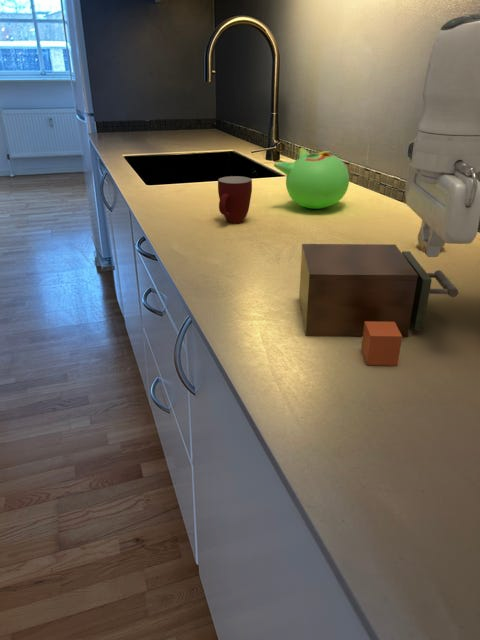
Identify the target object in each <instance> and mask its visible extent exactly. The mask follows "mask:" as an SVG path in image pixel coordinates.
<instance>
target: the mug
mask: <svg viewBox="0 0 480 640" xmlns="http://www.w3.org/2000/svg"><path fill="white" fill-rule="evenodd" d="M217 192H218V199H219V201H218V210H219V213H220V214H221V215H223V216H224V218H225V220H226V222H227V223H230V224H241V223H243V222H244V221H245V219H246V217H247V215H248V214H249V209H250V203H251V199H252V192H253V179H252V178H250V177H247V176H241V175H240V176H239V175H237V176H236V175H234V176H233V175H230V176H223V177H220V178H218V179H217Z"/></svg>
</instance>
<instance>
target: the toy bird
mask: <svg viewBox="0 0 480 640" xmlns="http://www.w3.org/2000/svg"><path fill="white" fill-rule="evenodd" d="M330 153H331V150H326V151H325V150H324V151H318V152H317V151H316V152H315V151H314V152H312V153H310V152H309V151H308V150H307V149H305V148H304V147H300V148H299V150H298V156H299V157H298V158H297V159H296V160H295V161H294V162H287V161H277V162H274V163H273V166H274V168H275V169H276V170H279V171H280V172H281V173H284V174H285V175H286V177H285V185H286V192H287V193H288V195H289V197H290V198H291V199H292V201H293V202H294V203H296V204H297V205H299V206H301V207H303V208H306V209H313V210H314V209H315V210H318V209H325V208H329V207H332V206H333V205H335V204H336V203H338V202H340V201H341V200H342V199H343V198H344V196H345V195H346V194H347V191H348V189H349V186H350V174H349V170H348V167H347V166H346V164H345V162H344V161H342V159H341V158H339V157H338V156H336V155H334V154H330Z"/></svg>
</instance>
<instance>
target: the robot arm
mask: <svg viewBox="0 0 480 640" xmlns="http://www.w3.org/2000/svg"><path fill="white" fill-rule="evenodd" d="M422 99H423V109H422V114H421V118H420V120H419V122H418V125H417V128H416V134H415V138H414V139H413V140H412V141H410V142H409V143H408V145H407V149H406V158H407V159H409V161H408V165H407V166H408V167H407V172H406V183H405V203H406V206H407V207H408V208H410V210H411V211H413V213H415V215H416V216H418V217H419V218H420V219H421V223H420V224H421V225H420V228H421V227H422V244H421V248H420V250H421V251H422V252H423V253H424V254H425V255H426V257H428V258H437V257H439V256H440V254H441V250H442V249H441V245H442V244H443V242H446V243H445V244H449V245H450V244H451V245H452V244H453V245H454V244H455V245H456V244H457V245H463V244H464V245H470V244H472V243H473V242H474V240H475V239H476V237H477V234H478V230H479V225H480V181H479V179H478V178H477V175H476V174H477V173H479V172H480V13H476V14H475V13H474V14H466V15H463V16H458V17H455V18H452V19H450V20H448V21H447V22H445V23H444V24H442V26H441V27H440V28H439V30H438V32H437V34H436V36H435V39H434V42H433V45H432V47H431V51H430V55H429V58H428V63H427V68H426V73H425V78H424V84H423V92H422ZM440 249H441V250H440Z"/></svg>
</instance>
